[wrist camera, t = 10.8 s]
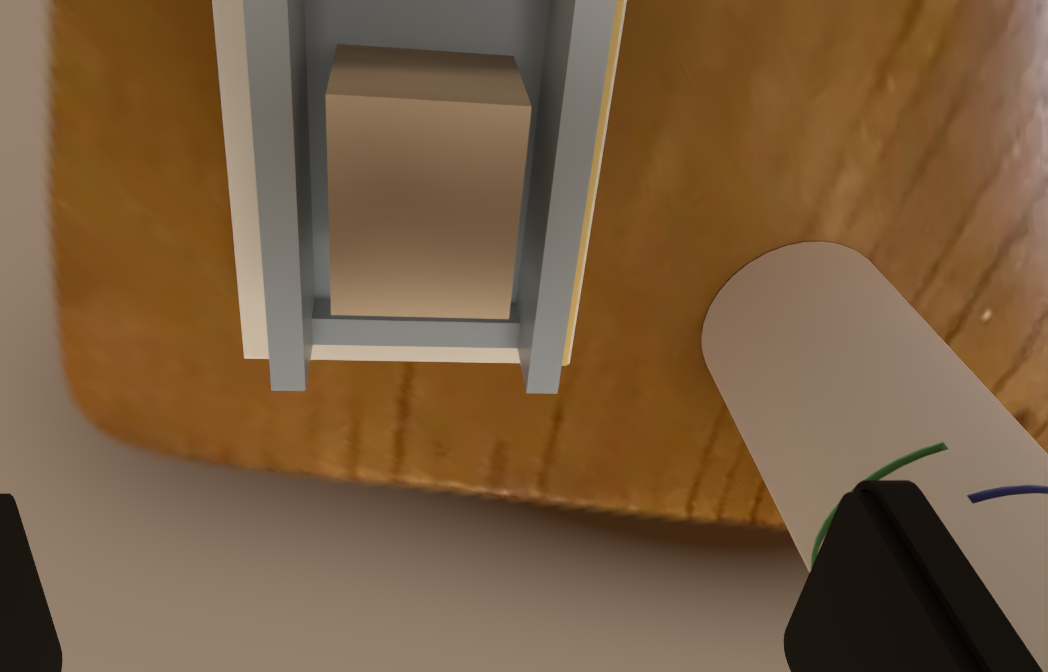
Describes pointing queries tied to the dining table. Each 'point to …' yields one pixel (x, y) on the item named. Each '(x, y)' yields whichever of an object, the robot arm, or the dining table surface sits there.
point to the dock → (247, 218)
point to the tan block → (424, 181)
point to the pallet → (302, 179)
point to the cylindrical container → (877, 416)
